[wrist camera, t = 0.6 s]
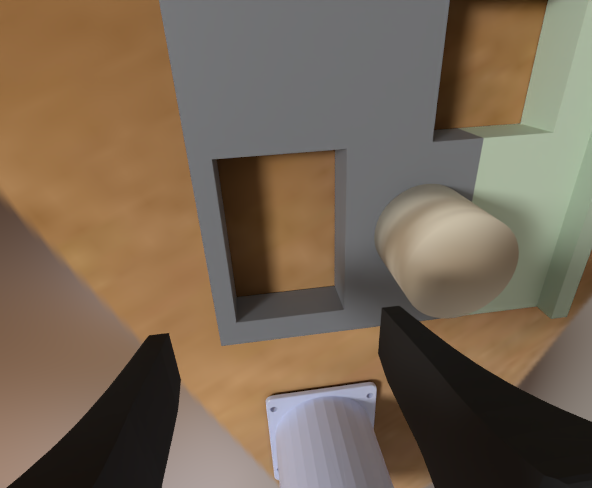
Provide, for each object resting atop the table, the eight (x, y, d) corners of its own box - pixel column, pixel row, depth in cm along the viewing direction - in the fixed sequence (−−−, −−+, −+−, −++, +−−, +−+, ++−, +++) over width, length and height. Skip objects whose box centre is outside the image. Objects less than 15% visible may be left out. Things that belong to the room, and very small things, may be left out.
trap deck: (525, 282, 25) (566, 316, 22) (223, 318, 23) (220, 361, 20) (614, -28, 17) (699, -45, 14) (166, -13, 15) (147, -28, 12)
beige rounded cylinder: (460, 266, 21) (504, 311, 17) (371, 276, 20) (399, 324, 17) (476, 179, 19) (531, 210, 15) (377, 188, 18) (410, 222, 15)
